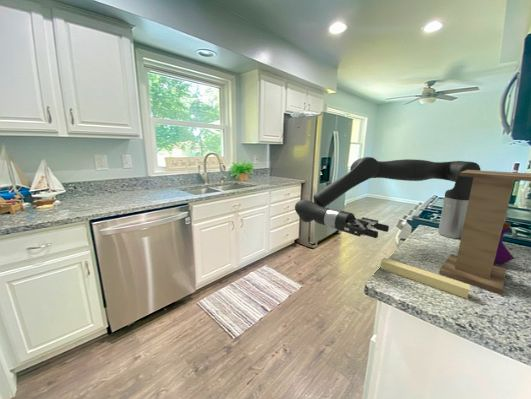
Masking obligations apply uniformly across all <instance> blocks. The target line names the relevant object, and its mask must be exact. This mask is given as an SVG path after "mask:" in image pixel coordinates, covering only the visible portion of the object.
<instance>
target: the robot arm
mask: <svg viewBox="0 0 531 399" xmlns="http://www.w3.org/2000/svg"><path fill="white" fill-rule="evenodd" d="M349 170H350V171H349V172H348V173H346V174H344V175H343V176H342V177H340V178H338V179H336V180H335V181H333V182H331V183H329V184H327V185H326V186H325V187H323V188H321V189H320V190H319V191H317V192H316V193H315V194H314V195H313V197H312V198H313V201H311V200H307V199H302V200H298V201H297V202H296V203H295V206H294V210H295V212H296V214H297V215H298V217H299V219H300V220H301V221H302V222H304V223H310V222H312V221H314V222H315V223H317V224H318V225H319V224H320V225H322V226H326V227H329V228H330V229H332V230H333V229H334V230H337V231H340V232H344V233H346V234H349V235H353V236H355V237H361V236H363V237H365V236H366V237H370V238H374V239H377V238H379V231H381V232H385V233H387V232H389V229H390V226H389V225H387V224H385V223H384V224H383V223H380V222H379V220H377V219H373V218H369V217H364V216H363V217H361V218H356V216H355V214H354V213H353V212H348V211H345V210H341V209H335V208H334V209H333V208H329V207H327V206H329V205H331V203H333V202H334V201H336V200H337V199H338V198H340V197H341V196H343V195H344V194H346V193H347V192H348V191H350V190H351V189H353V188H355V187H356V186H358V185H360V184H361V183H364V182H366V181H367V180H370V179H377V178H378V179H388V180H395V181H408V182H420V181H421V182H422V181H427V180H433V179H434V180H435V179H436V180H444V181H449V182H454V185H453V187H452V188H450V189H448V190H446V191H445V192H444V199H443V203H442V209H441V215H440V220H439V225H438V230H437V233H438V234H439V235H441V236H444V237H447V238H452V239H461V235H462V230H463V226H464V221H465V216H466V211H467V206H468V202H469V197H470V192H471V187H472V182H473V178H474V177H466V176H459V174H460V172H463V171H465V170H479V171H482V170H481V166H480V165H479V164H478V163H477V162H474V161H464V160H452V161H442V162H441V161H436V162H435V161H431V160H425V159H413V158H412V159H411V158H410V159H408V158H407V159H395V160H394V159H393V160H388V161H387V160H386V161H385V160H384V161H381V160H380V161H379V160H377V159H376V158H374V157H372V156H371V157H370V156H365V157H362V158H361V157H360V158H358V159H356V160H355V161H354V162H353V163H352V164H351V165H350V169H349Z"/></svg>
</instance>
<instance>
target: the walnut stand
mask: <svg viewBox="0 0 531 399" xmlns="http://www.w3.org/2000/svg"><path fill="white" fill-rule="evenodd" d="M459 176H466V177H474V178H473V182H472V187H471V192H470V197H469V202H468V206H467V211H466V216H465V221H464V226H463V230H462V235H461V238H460V241H459V247H458V250H457V255H455V254H454V253H453V254H451V253H450V254H449V256H448V258H447V259H446V260H445V261H444V263H443V264H442V265H441V267H440V268H439V273H438V275H440V276H443V277H446V278H450V279H453V280H456V281H459V282H462V283H465V284H468V285H470V286H475V287H477V288H481V289H484V290H487V291H490V292H493V293H495V294H498V295H502V294H503V290H504V285H505V280H506V274H507V268H503V267H499V266H496V265H494V260H495V256H496V252H497V248H498V244H499V240H500V236H501V232H502V228H503V224H504V220H505V216H506V212H507V213H508V207H509V204H510V200H511V195H512V192H513V188H514V183H515V181H522V182H523V181H524V182H531V173H529V172H513V171H512V172H510V171H496V170H495V171H494V170H492V171H491V170H481V171H479V170H465V171H463V172H460V174H459ZM505 221H506V220H505Z"/></svg>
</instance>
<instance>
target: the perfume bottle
mask: <svg viewBox="0 0 531 399" xmlns="http://www.w3.org/2000/svg"><path fill="white" fill-rule="evenodd" d="M508 217H509V213H508V211H507V212H506V216H505V220H504V224H503V228H502V232H501V236H500V240H499V244H498V248H497V252H496V256H495V260H494V264H495V265H503V264H505V263H509V262H510V261H512V260H514V259H515V257H514V256H513V255H512V254H511V252H510V251H509V250H508V249H507V247H506V246H505V245H504V243H503V236H505V234H506V233H507V232H510V231H512V228H511V227H510V226H511V224H512V223H511V222H508V221H506V219H507V218H508Z"/></svg>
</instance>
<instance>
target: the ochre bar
mask: <svg viewBox="0 0 531 399" xmlns="http://www.w3.org/2000/svg"><path fill="white" fill-rule="evenodd" d="M381 266H382V267H381ZM380 267H381V268H380ZM380 267H379V268H380V269H382V270H385V271H387V272H390V273H393V274H396V275H399V276H401V277H404V278H407V279H410V280H413V281H416V282H418V283H422V284H424V285H427V286H430V287H433V288H436V289H438V290H441V291H444V292H447V293H449V294H452V295H456V296H458V297H461V298H464V299H465V300H466V299H467V300H468V297H469V292H470V288H471V284H468V283H465V282H462V281H459V280H456V279H453V278H450V277H447V276H444V275H441V274H436V273H433V272H430V271H427V270H424V269H421V268H417V267H414V266H411V265H409V264H405V263H402V262H400V261H396V260H393V259H389V258H386V257H383V258H382V259H381V262H380Z"/></svg>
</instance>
